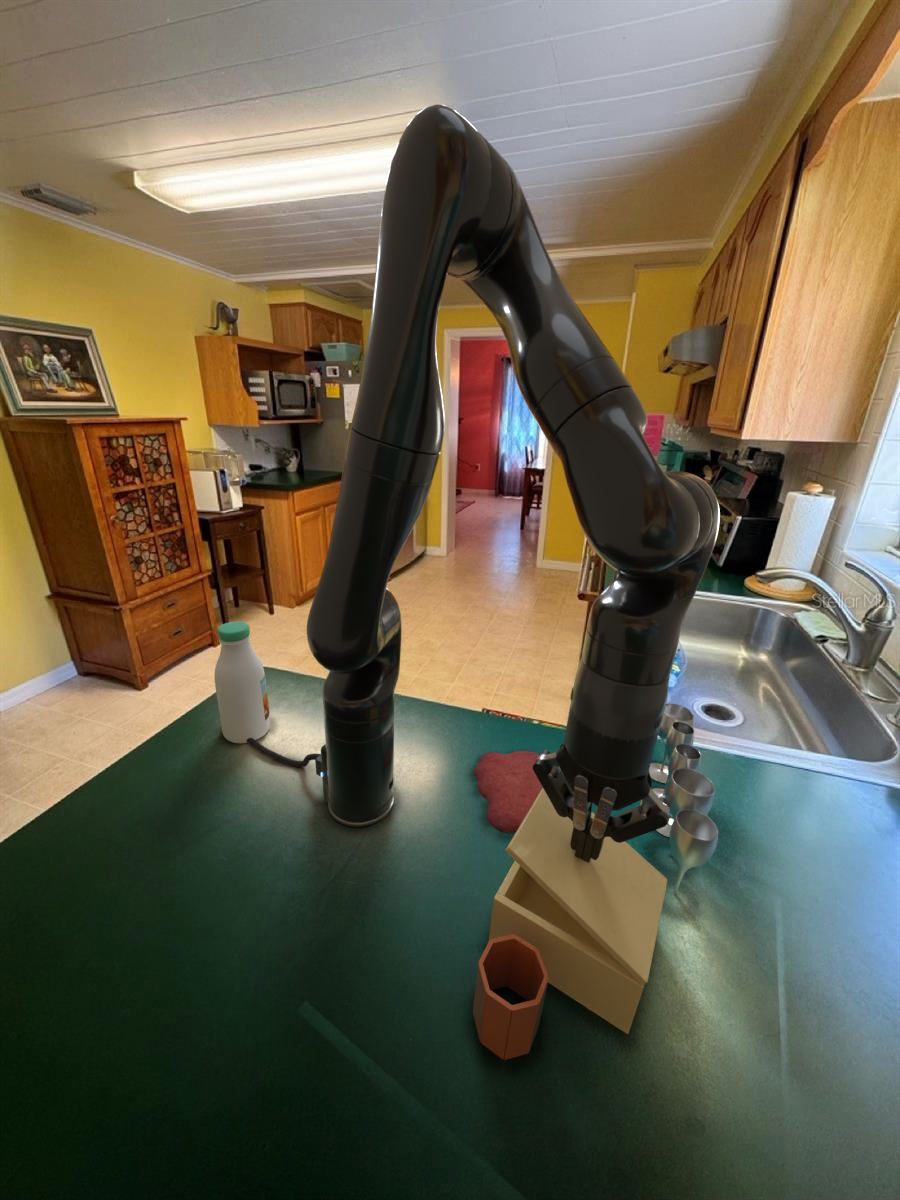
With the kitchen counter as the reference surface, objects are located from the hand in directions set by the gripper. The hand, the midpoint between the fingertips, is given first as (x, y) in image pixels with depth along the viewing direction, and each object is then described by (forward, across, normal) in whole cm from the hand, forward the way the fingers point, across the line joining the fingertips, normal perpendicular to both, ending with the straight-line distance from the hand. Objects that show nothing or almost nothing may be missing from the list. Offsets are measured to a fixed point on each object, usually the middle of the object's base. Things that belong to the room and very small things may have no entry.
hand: (584, 853), depth 47 cm
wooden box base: (+13, 0, 0) cm, 13 cm away
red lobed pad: (+13, +12, -17) cm, 25 cm away
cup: (+13, +2, +11) cm, 17 cm away
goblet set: (+13, -7, -23) cm, 28 cm away
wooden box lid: (+2, -1, 0) cm, 2 cm away
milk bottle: (+13, +58, -3) cm, 60 cm away
